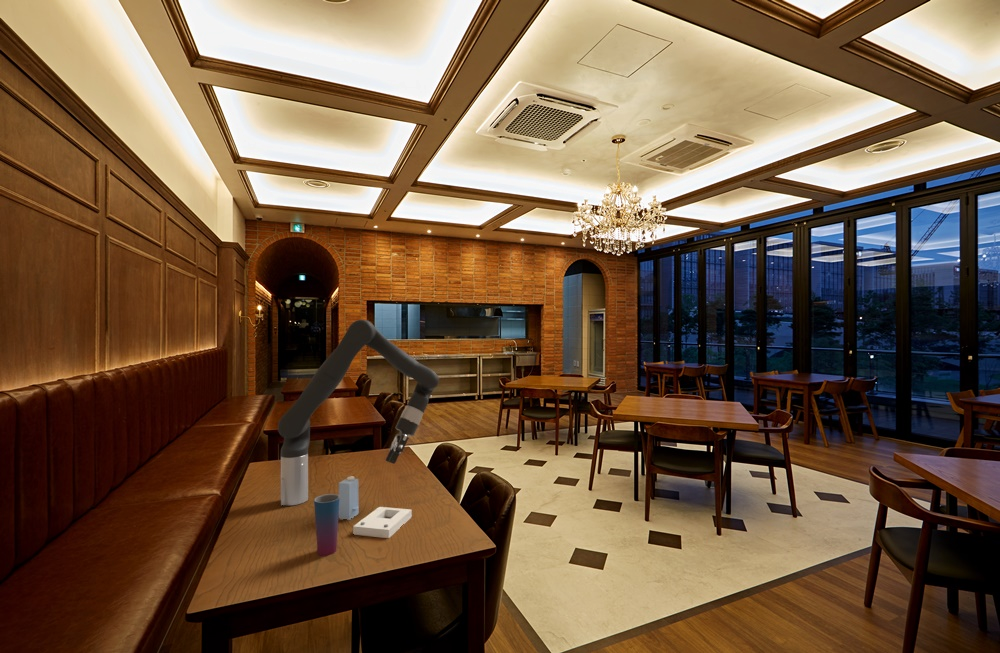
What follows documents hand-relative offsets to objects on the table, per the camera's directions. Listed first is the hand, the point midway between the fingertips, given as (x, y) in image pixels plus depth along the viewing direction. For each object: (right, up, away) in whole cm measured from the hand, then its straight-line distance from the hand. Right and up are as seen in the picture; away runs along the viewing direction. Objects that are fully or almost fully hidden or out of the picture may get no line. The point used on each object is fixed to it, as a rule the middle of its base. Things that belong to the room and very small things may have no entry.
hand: (389, 462), depth 162 cm
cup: (-9, -15, -35) cm, 39 cm away
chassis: (+2, -15, -18) cm, 23 cm away
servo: (-11, -15, -10) cm, 22 cm away
